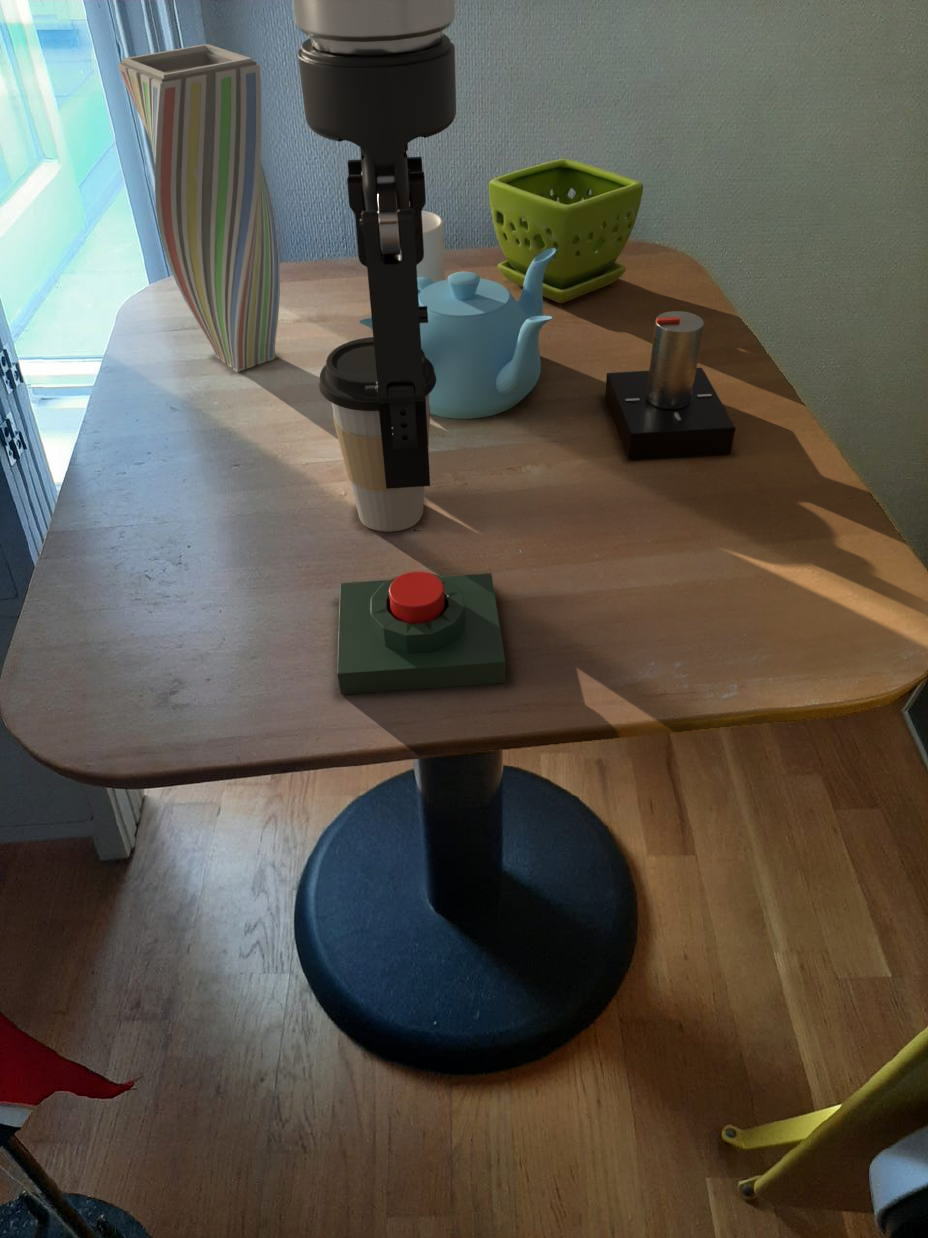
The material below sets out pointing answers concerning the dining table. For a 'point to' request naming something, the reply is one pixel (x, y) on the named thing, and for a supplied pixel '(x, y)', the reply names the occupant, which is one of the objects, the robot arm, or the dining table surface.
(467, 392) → the teapot
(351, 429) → the coffee cup
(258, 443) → the dining table surface
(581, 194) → the flower pot
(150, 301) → the dining table surface
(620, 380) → the panel
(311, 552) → the dining table surface
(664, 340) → the stove knob
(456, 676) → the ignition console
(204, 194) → the vase
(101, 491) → the dining table surface
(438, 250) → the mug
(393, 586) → the button
